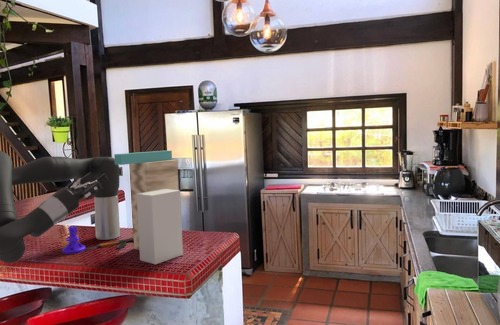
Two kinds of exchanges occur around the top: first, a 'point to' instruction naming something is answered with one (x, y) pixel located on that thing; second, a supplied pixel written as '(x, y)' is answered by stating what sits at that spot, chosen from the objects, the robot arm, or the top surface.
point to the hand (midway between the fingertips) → (99, 175)
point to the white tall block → (159, 225)
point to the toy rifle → (121, 242)
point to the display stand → (150, 184)
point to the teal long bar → (142, 157)
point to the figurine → (73, 242)
